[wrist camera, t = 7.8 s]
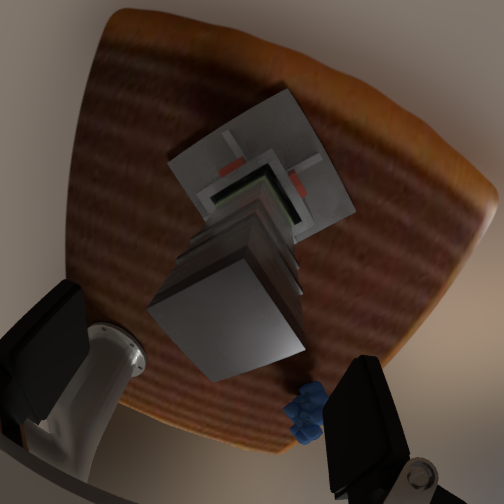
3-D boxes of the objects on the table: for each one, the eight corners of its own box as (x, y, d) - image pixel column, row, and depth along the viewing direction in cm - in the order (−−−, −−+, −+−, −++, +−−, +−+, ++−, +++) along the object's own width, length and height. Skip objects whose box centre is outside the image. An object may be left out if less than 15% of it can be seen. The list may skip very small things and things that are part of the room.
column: (251, 227, 28) (211, 385, 11) (226, 189, 27) (140, 307, 10) (291, 205, 27) (311, 350, 10) (267, 165, 25) (245, 251, 8)
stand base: (240, 268, 38) (227, 320, 28) (169, 162, 33) (126, 179, 23) (354, 209, 33) (383, 244, 23) (287, 89, 28) (292, 70, 18)
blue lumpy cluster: (295, 358, 44) (297, 420, 33) (334, 366, 44) (343, 425, 33) (272, 399, 48) (269, 455, 38) (306, 405, 49) (309, 459, 38)
